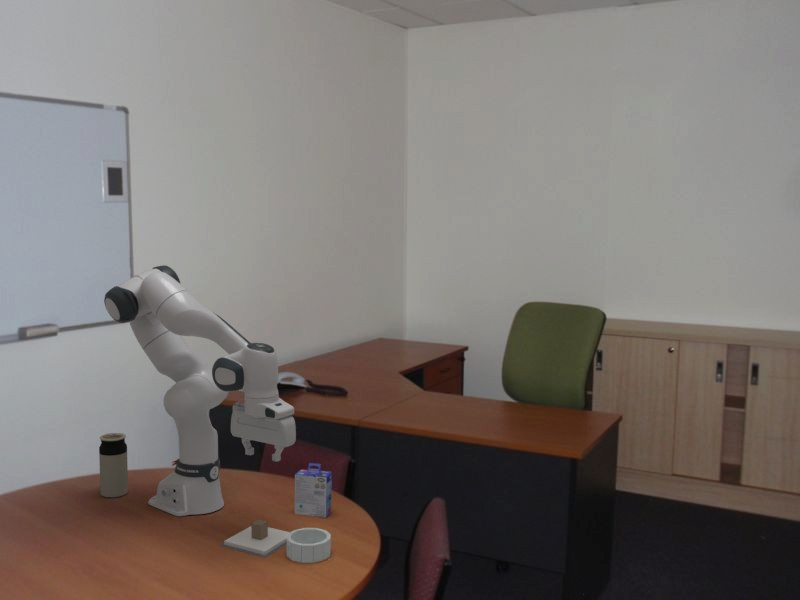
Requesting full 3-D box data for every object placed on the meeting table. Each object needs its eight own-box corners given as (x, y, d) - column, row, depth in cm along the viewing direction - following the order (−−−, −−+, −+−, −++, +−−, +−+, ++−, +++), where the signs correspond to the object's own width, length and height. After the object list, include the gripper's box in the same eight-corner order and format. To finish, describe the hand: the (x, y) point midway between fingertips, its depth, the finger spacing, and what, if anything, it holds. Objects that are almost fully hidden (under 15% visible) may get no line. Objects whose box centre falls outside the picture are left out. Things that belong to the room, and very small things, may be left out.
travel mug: (122, 498, 248) (121, 440, 246) (96, 498, 248) (94, 439, 246) (131, 489, 256) (130, 432, 254) (106, 488, 256) (104, 432, 254)
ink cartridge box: (332, 511, 241) (332, 463, 239) (327, 518, 236) (327, 469, 234) (300, 508, 243) (300, 460, 241) (293, 515, 238) (293, 466, 236)
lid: (224, 544, 216) (224, 526, 215) (255, 527, 227) (254, 509, 227) (264, 555, 210) (264, 536, 209) (294, 537, 221) (294, 519, 221)
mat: (218, 546, 216) (218, 545, 216) (254, 527, 229) (254, 525, 229) (265, 559, 209) (265, 557, 209) (299, 538, 222) (299, 536, 222)
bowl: (278, 558, 209) (278, 539, 209) (303, 542, 219) (303, 524, 218) (314, 568, 204) (315, 548, 204) (338, 551, 214) (338, 533, 213)
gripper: (224, 403, 218) (225, 454, 220) (282, 413, 207) (283, 467, 209) (241, 398, 224) (242, 448, 225) (299, 408, 212) (300, 461, 214)
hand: (262, 457), depth 217 cm, fingers open, 8 cm apart
